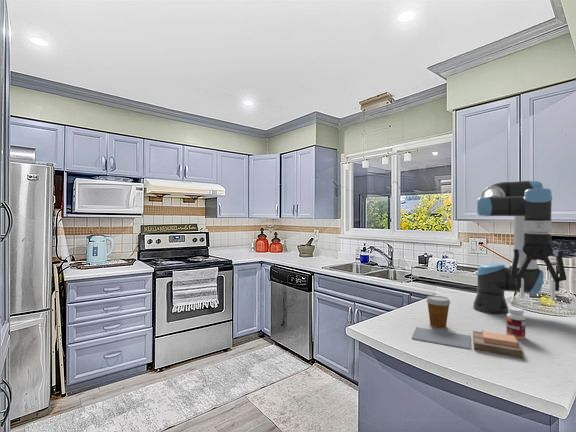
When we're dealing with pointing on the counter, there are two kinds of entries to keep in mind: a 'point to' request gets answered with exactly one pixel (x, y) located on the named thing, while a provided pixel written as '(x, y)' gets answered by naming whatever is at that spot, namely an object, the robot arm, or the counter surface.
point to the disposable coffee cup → (438, 310)
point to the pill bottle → (516, 323)
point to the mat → (442, 337)
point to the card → (499, 338)
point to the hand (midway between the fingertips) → (537, 298)
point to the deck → (495, 347)
